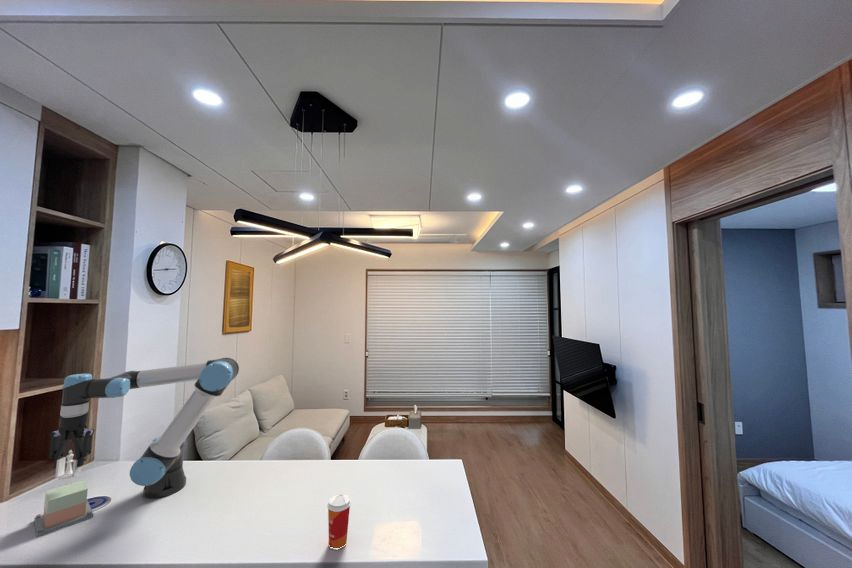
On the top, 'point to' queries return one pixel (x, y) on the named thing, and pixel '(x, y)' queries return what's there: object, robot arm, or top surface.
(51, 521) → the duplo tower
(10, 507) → the top surface
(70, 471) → the chess piece
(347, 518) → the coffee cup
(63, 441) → the robot arm
